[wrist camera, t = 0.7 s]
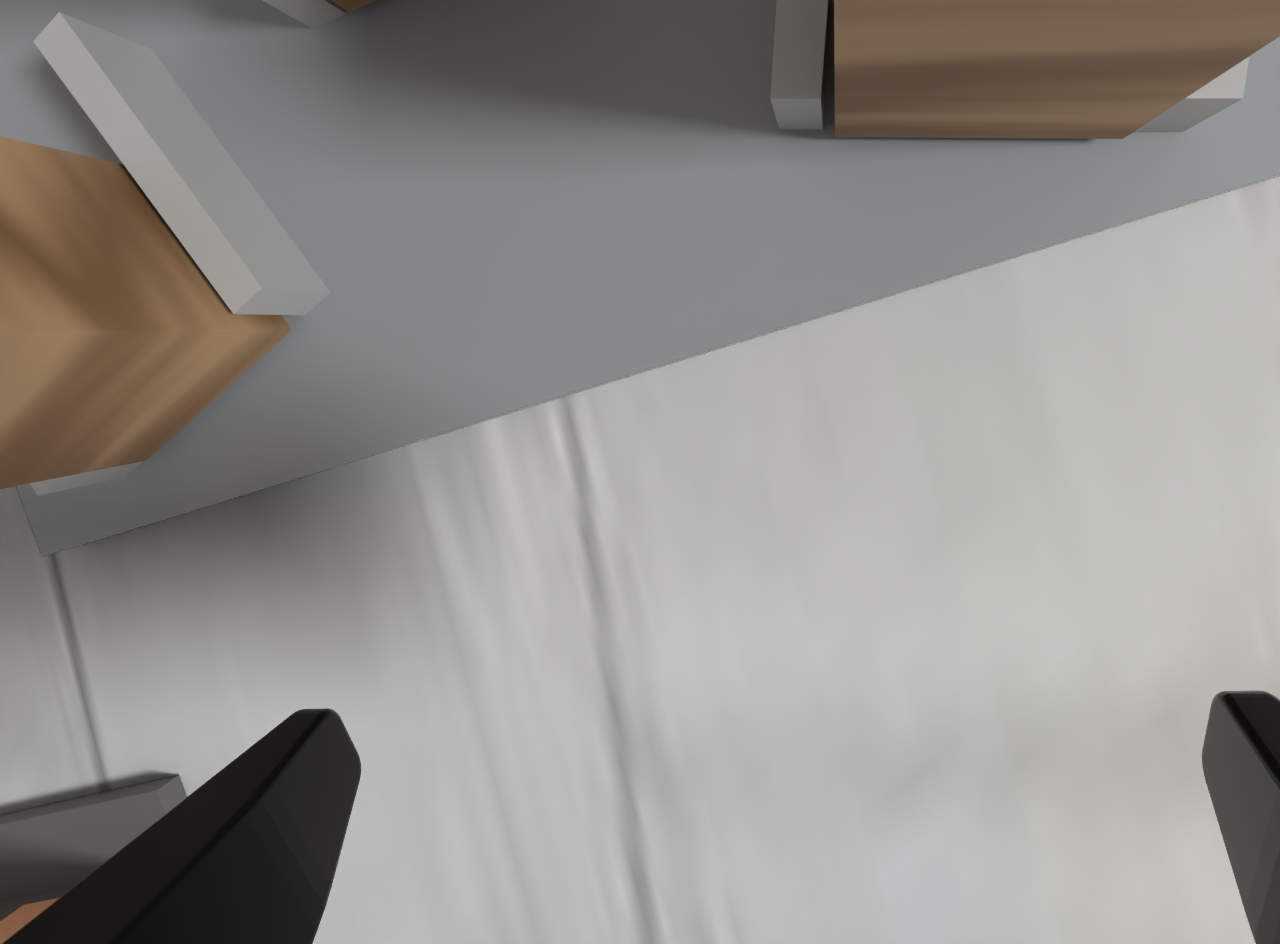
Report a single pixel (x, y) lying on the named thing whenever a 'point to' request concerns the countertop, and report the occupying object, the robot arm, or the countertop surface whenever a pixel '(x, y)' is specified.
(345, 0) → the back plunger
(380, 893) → the countertop surface
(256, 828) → the robot arm
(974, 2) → the plunger
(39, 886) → the pattern card
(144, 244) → the plunger
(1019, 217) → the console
